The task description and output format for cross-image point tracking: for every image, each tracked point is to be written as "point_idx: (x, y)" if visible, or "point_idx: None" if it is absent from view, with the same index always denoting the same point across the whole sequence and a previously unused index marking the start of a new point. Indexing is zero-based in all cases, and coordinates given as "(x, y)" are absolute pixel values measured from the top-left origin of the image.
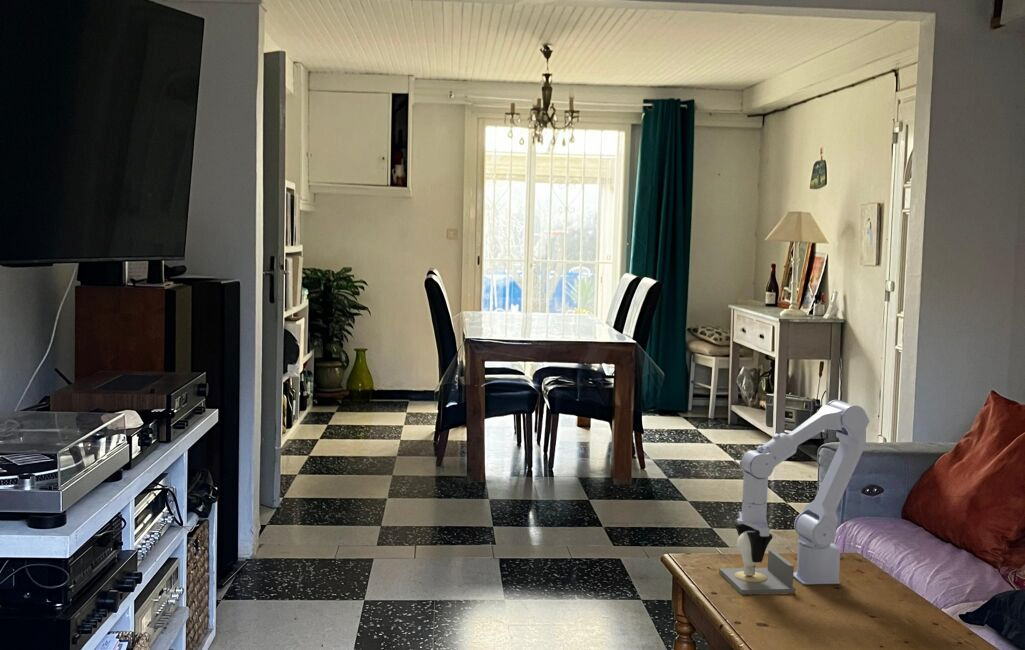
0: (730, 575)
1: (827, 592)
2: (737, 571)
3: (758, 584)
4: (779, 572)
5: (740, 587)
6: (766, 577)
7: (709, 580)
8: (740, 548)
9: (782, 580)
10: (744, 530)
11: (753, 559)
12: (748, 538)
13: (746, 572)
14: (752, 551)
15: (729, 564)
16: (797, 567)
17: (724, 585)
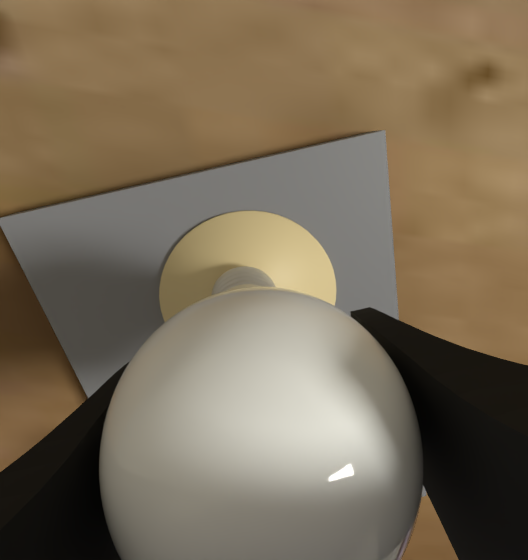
0: (255, 185)
1: None
2: (336, 238)
3: (131, 321)
4: None
5: (37, 216)
6: None
7: (231, 40)
8: (178, 312)
9: None
10: (485, 488)
11: (113, 375)
12: (122, 496)
13: (220, 284)
14: (68, 418)
15: (520, 217)
16: None
17: (156, 132)
